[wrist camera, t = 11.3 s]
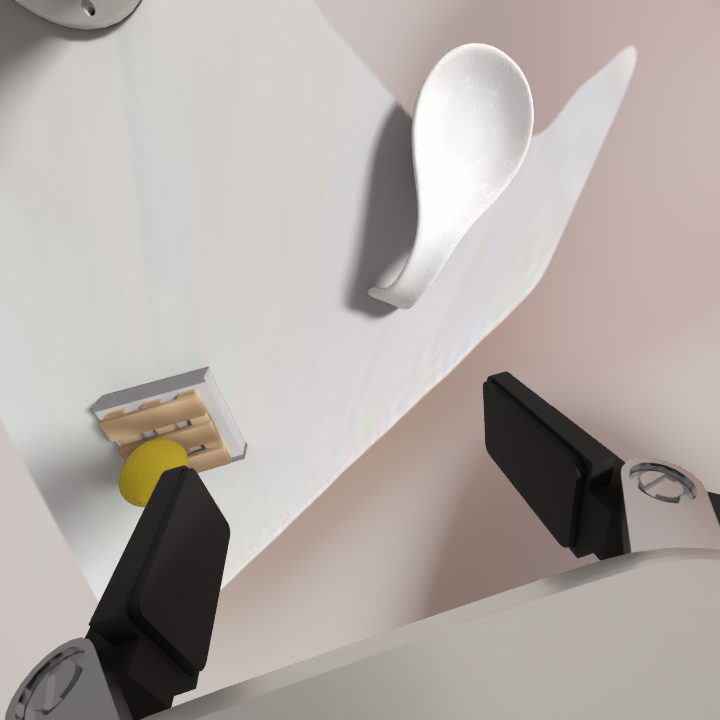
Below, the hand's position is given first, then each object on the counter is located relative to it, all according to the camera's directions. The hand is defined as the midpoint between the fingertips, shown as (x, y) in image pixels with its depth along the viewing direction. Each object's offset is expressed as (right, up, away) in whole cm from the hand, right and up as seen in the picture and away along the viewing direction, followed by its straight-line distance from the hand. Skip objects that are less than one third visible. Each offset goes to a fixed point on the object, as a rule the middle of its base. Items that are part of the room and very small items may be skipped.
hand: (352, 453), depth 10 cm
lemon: (-21, -6, +26) cm, 34 cm away
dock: (-22, -5, +30) cm, 37 cm away
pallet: (-21, -6, +27) cm, 35 cm away
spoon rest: (+8, +20, +24) cm, 33 cm away
